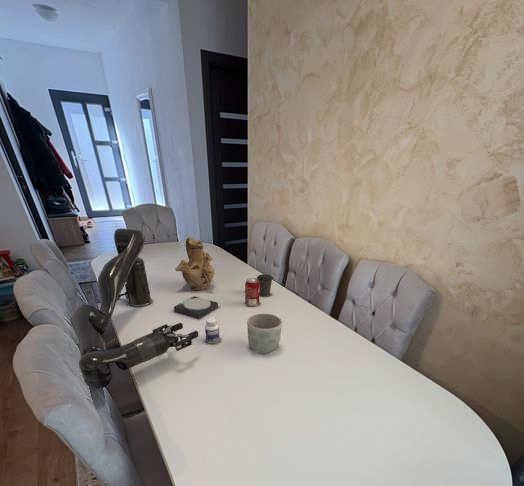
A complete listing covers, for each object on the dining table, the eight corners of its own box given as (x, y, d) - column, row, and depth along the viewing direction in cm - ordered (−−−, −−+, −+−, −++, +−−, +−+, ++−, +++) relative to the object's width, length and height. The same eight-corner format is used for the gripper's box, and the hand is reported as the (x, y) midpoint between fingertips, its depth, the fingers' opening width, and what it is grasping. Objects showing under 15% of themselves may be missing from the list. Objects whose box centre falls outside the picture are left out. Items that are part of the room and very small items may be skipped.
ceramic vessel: (177, 293, 156) (171, 242, 142) (186, 280, 172) (181, 233, 158) (213, 294, 156) (210, 244, 142) (218, 281, 172) (216, 235, 158)
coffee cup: (253, 294, 157) (253, 275, 152) (263, 290, 162) (264, 271, 157) (264, 298, 153) (265, 279, 147) (275, 294, 158) (276, 275, 152)
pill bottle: (206, 336, 120) (204, 316, 115) (220, 336, 121) (218, 316, 116) (205, 344, 116) (203, 323, 111) (219, 343, 116) (218, 322, 111)
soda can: (257, 307, 144) (258, 283, 137) (243, 306, 145) (243, 281, 138) (260, 302, 149) (261, 278, 143) (247, 300, 150) (247, 276, 144)
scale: (174, 311, 138) (173, 305, 136) (194, 300, 149) (193, 294, 147) (199, 319, 133) (198, 312, 131) (218, 307, 143) (217, 300, 141)
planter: (242, 341, 118) (242, 316, 112) (271, 336, 122) (273, 311, 116) (254, 358, 108) (255, 331, 102) (285, 351, 112) (288, 325, 107)
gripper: (138, 349, 102) (178, 331, 113) (163, 365, 94) (204, 345, 105) (133, 329, 98) (176, 313, 109) (159, 345, 90) (202, 326, 101)
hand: (189, 329), depth 107 cm, fingers open, 8 cm apart
